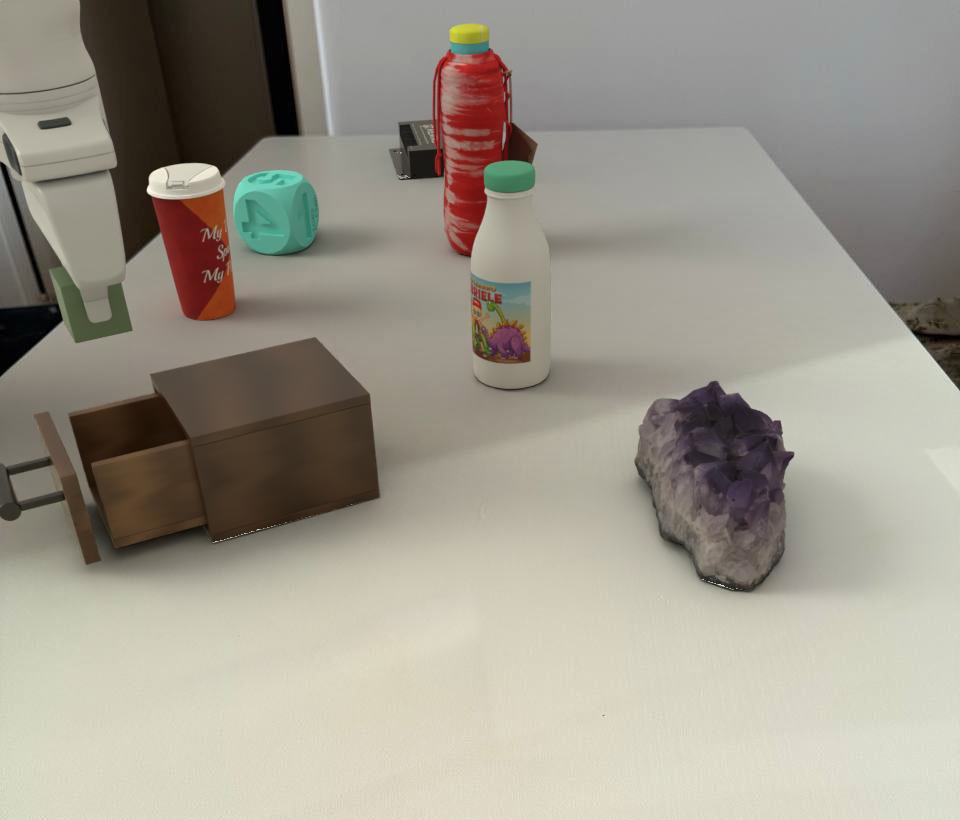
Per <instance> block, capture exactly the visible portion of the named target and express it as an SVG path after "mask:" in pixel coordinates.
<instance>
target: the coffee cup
mask: <svg viewBox="0 0 960 820" xmlns="http://www.w3.org/2000/svg"><path fill="white" fill-rule="evenodd" d="M226 184H227V183H226V180H225V179H224V178H223V176H221V173H220V170H219V168H218V167H217V166H215V165H211V164H208V163H201V162H200V163H199V162H190V163H189V162H186V163H178V164H172V165H167V166H163V167H160V168H158V169H156V170H153V171H152V172H151V173H150V174H149V176H148V185H147V188H146V193H147V194H148V195H149V196H151V199H152V204H153V207H154V211H155V215H156V219H157V222H158V225H159V231H160V233H161V237H162V242H163V245H164V249H165V252H166V256H167V261H168V263H169V268H170V271H171V275H172V279H173V282H174V286H175V290H176V293H177V297H178V301H179V304H180V308H181V311H182V313H183V315H184V316H185V317H186V318H189V319H190V320H196V321H208V320H209V321H211V320H216V319H220V318H221V319H222V318H224V317H226V316H229V315H231V314H232V313H233V312H234V311H235V310H236V294H235V284H234V274H233V263H232V256H231V246H230V238H229V229H228V221H227V219H228V218H227V211H226V204H225V203H226V202H225V193H224V188H225V186H226Z"/></svg>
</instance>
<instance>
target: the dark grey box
mask: <svg viewBox="0 0 960 820" xmlns="http://www.w3.org/2000/svg"><path fill="white" fill-rule="evenodd" d="M435 120H436V136H437V118H435ZM398 136H399V137H398V138H399V147H395V148H389V149H388V151H389V154H390V158H391V161H392V164H393V167H394V170H395V174H396V176H397V175H399V176H402V175H401V174H404V175H407V176H408V177H410V178H416V179H424V178H423V177H428V178H438V177H437V176H441V177H444V154H443V141H442V134H441V126H440V151H441V152H442V156H441V157H440V167H441V175H438V173H436V168H435V157H436V154H437V148H436V146H435V143H434V130H433V119H421V120H409V121H408V120H407V121H398ZM396 151H397V152H398V153H397V152H396ZM400 152H402V153H401V154H400ZM404 175H403V177H405V176H404ZM408 177H406V178H408Z"/></svg>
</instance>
